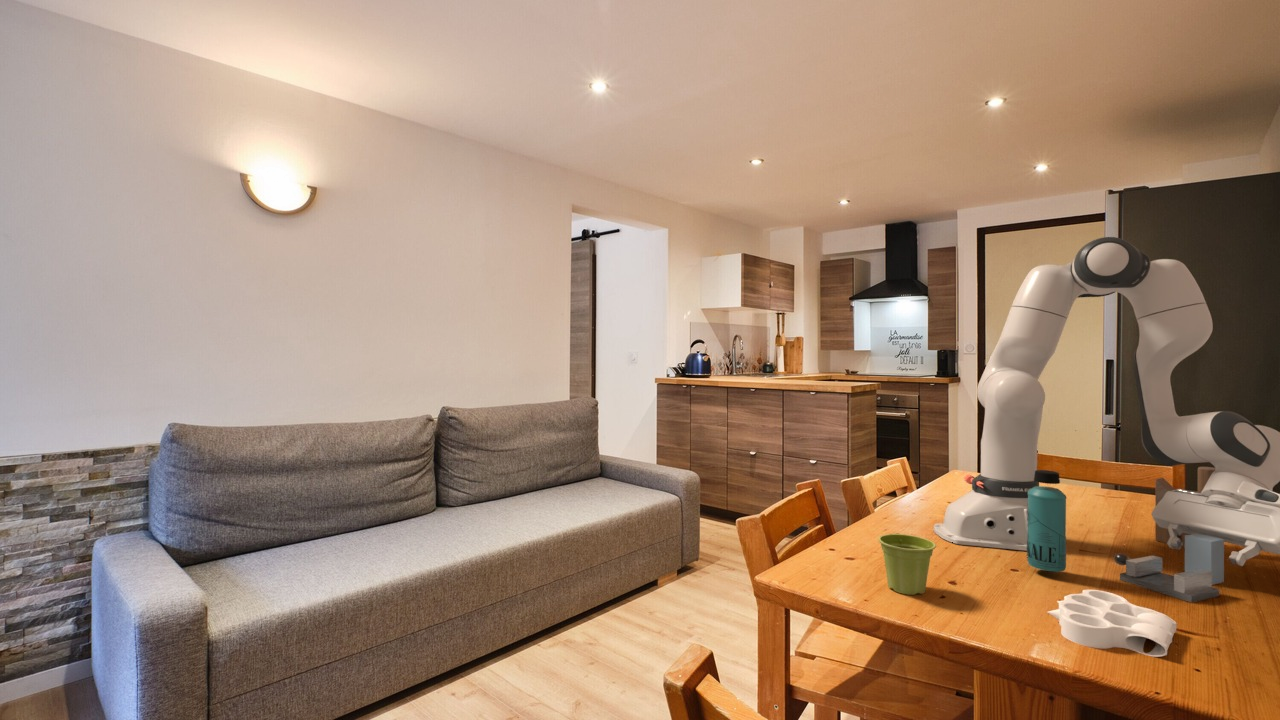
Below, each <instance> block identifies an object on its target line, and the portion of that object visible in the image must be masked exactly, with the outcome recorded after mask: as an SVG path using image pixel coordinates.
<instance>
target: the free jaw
mask: <svg viewBox="0 0 1280 720" xmlns="http://www.w3.org/2000/svg"><path fill="white" fill-rule="evenodd" d="M1113 560H1114V562H1115V563H1116V564H1117V565H1119V566H1125V572H1126V574H1127V575H1130V576H1133V577H1138V576H1143V575H1148V574H1153V573H1158V572H1162V573H1163V557H1161V556H1157V555H1148V556H1142V557H1136V558H1129V557H1128V556H1127V555H1126V554H1124V553H1117V554H1115V555H1114V557H1113Z"/></svg>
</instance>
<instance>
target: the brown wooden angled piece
mask: <svg viewBox="0 0 1280 720" xmlns="http://www.w3.org/2000/svg"><path fill="white" fill-rule="evenodd" d="M1214 471H1215V467H1214V466H1213V467H1211V466H1198V468H1197V492H1202V490H1203V488H1204V487H1205V485H1206V483H1207V481H1208V479H1209V478H1210V476H1211V474H1212V473H1213V472H1214ZM1171 490H1176V488H1175V487H1173V486H1172V484H1170V483H1169V482H1168V481H1167V480H1166V479H1165V478H1164V477H1160V478H1155V490H1154V491H1155V497H1154V498H1155V502H1154V504H1155V507H1156V505H1157V504H1158V503H1159V502H1160V501H1161V500H1162V498H1163V497H1164V495H1165V493H1166V492H1168V491H1171ZM1155 507H1154V508H1155ZM1154 522H1155V521H1154ZM1154 531H1155V538H1154V539H1155V541H1157V542H1159V543H1163V542H1164V544H1167V542H1168V540H1169V538H1170V534H1169V531H1168V529H1166V528H1162V527H1159V526H1158V524H1157V523H1156V522H1155V530H1154ZM1186 535H1192V534H1188V533H1183V532H1182V534H1181V535H1180V536H1179V535H1177V538H1180V540H1181V542H1182V543H1183V545H1182V547H1185V536H1186Z"/></svg>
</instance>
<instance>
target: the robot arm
mask: <svg viewBox="0 0 1280 720" xmlns="http://www.w3.org/2000/svg"><path fill="white" fill-rule="evenodd" d="M1115 293H1119V294H1121V295H1123V296H1124V297H1125V298H1126V299H1127V300H1128V301H1129V303H1130V305H1131V306H1132V308H1133V312H1134V316H1135V318H1136V321H1137V324H1138V330H1139V331H1138V333H1139V337H1138V338H1139V339H1138V344H1137V345H1138V346H1137V347H1136V349H1134V353H1133V359H1132V361H1133V372H1134V378H1135V385H1136V393H1137V398H1138V404H1139V411H1140V416H1141V431H1140V433H1141V434H1140V436H1141V437H1140V439H1141V444H1142V447H1143V448H1144V450H1145V451H1146V453H1147V454H1148V455H1149V456H1150V457H1151V458H1153V459H1154V460H1155V461H1157V462H1159V463H1160V464H1162V465H1165V466H1169V467H1173V466H1174V467H1175V466H1182V465H1190V464H1197V463H1199V464H1200V463H1210V464H1211V465H1212V466H1213V468H1215V471H1214V472H1213V473H1212V474H1211V476H1210V478H1209V479H1208V481H1207V483H1206V485H1205V487H1204V488H1203V490H1202V492H1198V490H1197V491H1196V490H1188V489H1187V490H1186V489H1183V488H1175V490H1171V491H1168V492H1166V493H1165V495H1164V497H1163V498H1162V500H1161V501H1160V502H1159V503H1158V504H1157V505H1156V507H1154V508H1153V509H1152V510H1151V516H1152V519H1153V521H1154V522H1156V523H1157V524H1158V526H1159V527H1162V528H1166V529H1168V531H1169V534H1170V538H1169V540H1168V542H1167V543H1166V544H1167V545H1168V546H1167V547H1168V548H1170V549H1173V550H1178V551H1181V549H1182V547H1183V543H1182V542H1181V540H1180V538H1177V535H1179V536H1180V535H1181V534H1182V532H1183V533H1188V534H1197V533H1198V534H1202V535H1207V536H1211V537H1215V538H1220V539H1224V543H1227V544H1232V545H1236V546H1241V547H1244V548H1242V549H1240V550H1239V551H1234V550H1233V551H1231V553H1230V555H1229V556H1228V560H1229V561H1230V563H1231V564H1233V565H1236V566H1240V567H1243V566H1245V563H1246V562H1247V560H1250V559H1252V558H1254V557H1256V556H1258V555H1259V554H1260V552H1267V553H1272V554H1275V555H1279V556H1280V493H1278V492H1275V491H1273V488H1274V487H1275V486H1276V485H1278V483H1279V482H1280V431H1278V430H1276V429H1274V428H1272V427H1269V426H1265V425H1262V424H1261V425H1260V424H1254V423H1252V422H1251V421H1250V420H1248V419H1247V418H1246V417H1244V416H1242V415H1241V414H1239V413H1237V412H1233V411H1229V410H1222V411H1213V412H1211V411H1210V412H1204V413H1203V412H1202V413H1197V414H1190V415H1183V416H1179V415H1178V414H1177V412H1176V407H1175V403H1174V402H1175V401H1174V395H1173V390H1172V385H1171V376H1172V372H1173V370H1174V369H1175V367H1176V366H1177V365H1178V364H1179V363H1180V362H1182V361H1184V359H1186V358H1187V357H1189V356H1191V355H1192V354H1194V353H1195V352H1197V351H1198V350H1200V348H1202V347H1203V346H1204V345H1205V344H1206V342H1207V341H1208V340H1209V338H1210V337H1211V335H1212V333H1213V329H1214V328H1213V325H1214V324H1213V319H1212V314H1211V312H1210V310H1209V307H1208V304H1207V301H1206V300H1205V297H1204V294H1203V292H1202V291H1201V288H1200V286H1199V284H1198V283H1197V280H1196V279H1195V277H1194V276H1193V275H1192V273H1191V272H1190V270H1189V269H1188V267H1187V266H1186V264H1185V263H1183V262H1181V261H1180V260H1177V259H1171V258H1170V259H1169V258H1161V259H1154V260H1152V261H1151V258H1150V257H1149V255H1147V254H1146V253H1144V252H1143V251H1141V250H1140V249H1138V248H1137V247H1136V246H1135V245H1133V244H1132V243H1130V242H1129V241H1127V240H1125V239H1124V238H1119V237H1116V236H1103V237H1100V238H1099V237H1098V238H1096V239H1093V240H1091V241H1090V242H1087V243H1086V244H1085V245H1083V246H1082V247H1081V248H1080V250H1078V252H1077V253H1076V255H1075V257H1074V258H1073V260H1072V261H1070V262H1069V263H1067V264H1063V265H1058V264H1051V263H1050V264H1047V263H1046V264H1040V265H1037V266H1035V267H1033V268H1032V269H1030V271H1029V272H1028V273H1027V274H1026V276H1025V278H1024V280H1023V281H1022V283H1021V284H1020V286H1019V289H1018V291H1017V292H1016V294H1015V297H1014V298H1013V302H1012V304H1011V307H1010V308H1009V312H1008V314H1007V317H1006V320H1005V322H1004V326H1003V328H1002V331H1001V333H1000V336H999V339H998V341H997V343H996V345H995V348H994V349H993V351H992V353H991V354H990V357H989V359H988V362H987V364H986V366H985V369H984V370H983V373H982V375H981V377H980V380H979V382H978V385H977V387H976V388H977V389H976V395H977V396H976V397H977V399H978V401H979V403H980V404H981V406H982V407H983V408H984V418H983V419H984V420H983V429H982V435H981V439H980V474H979V475H977V476H973V475H971V474H966V475H965V476H964V477H963V479H964V482H966V483H967V484H969V485H971V488H972V489H971V490H970V491H968V492H966V493H965V494H964V495H962V496H961V497H959V498H957V499H956V500H954V501H952V502H950V503H949V504H948V505H947V507H946V509H945V513H944V516H943V517H944V518H943V523H942V522H938V523H935V524H934V525H933V532H934V533H935V534H936V535H937V536H938V537H940V538H942V539H943V540H944V541H947V542H950V543H952V542H953V544H956V545H963V546H973V547H985V548H996V549H1007V550H1017V551H1024V552H1027V541H1028V540H1027V539H1028V537H1027V536H1028V533H1027V532H1028V526H1027V525H1028V517H1027V511H1028V508H1027V507H1028V491H1029V490H1030V489H1032V488H1033V487H1037V486H1040V482H1036V481H1034V476H1035V471H1036V470H1038V442H1039V441H1038V440H1039V436H1040V431H1041V426H1042V425H1041V424H1042V417H1043V416H1042V415H1043V407H1044V404H1045V400H1046V393H1045V390H1044V387H1043V385H1042V383H1040V382H1041V381H1039V379H1040V377H1041V375H1042V373H1043V371H1044V369H1045V368H1046V366H1047V364H1048V362H1049V361H1050V359H1051V358H1052V356H1053V355H1054V354H1055V352H1056V349H1057V346H1058V344H1059V341H1060V339H1061V337H1062V334H1063V331H1064V328H1065V325H1066V324H1067V320H1068V318H1069V314H1070V313H1071V309H1072V306H1073V304H1074V303H1075V301H1076V300H1077V299H1079V298H1099V297H1100V298H1101V297H1106V296H1109V295H1112V294H1115Z"/></svg>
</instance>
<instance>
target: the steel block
mask: <svg viewBox="0 0 1280 720" xmlns="http://www.w3.org/2000/svg"><path fill="white" fill-rule="evenodd" d="M1197 569H1205V570H1209V571H1212V586H1213V585H1217V584H1223V583H1225V542H1224V539H1220V538H1215V537H1211V536H1207V535H1202V534H1198V533H1197V534H1192V535H1186V536H1185V546H1184V572H1187V571H1192V570H1197ZM1222 582H1223V583H1222Z"/></svg>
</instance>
